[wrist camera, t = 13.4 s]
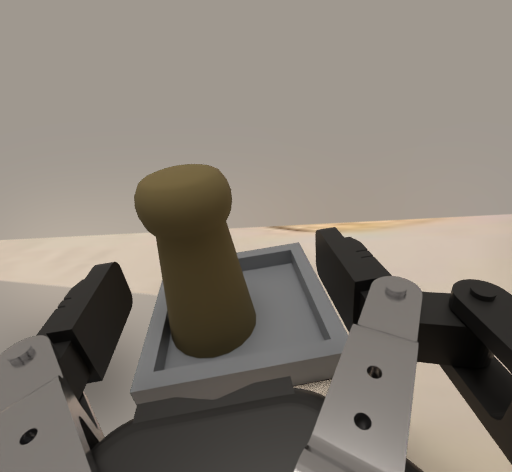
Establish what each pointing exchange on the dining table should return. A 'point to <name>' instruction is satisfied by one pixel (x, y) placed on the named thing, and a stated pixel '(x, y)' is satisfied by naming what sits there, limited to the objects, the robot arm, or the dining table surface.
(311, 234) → the dining table surface
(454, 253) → the dining table surface
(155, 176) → the cork
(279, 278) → the tray
